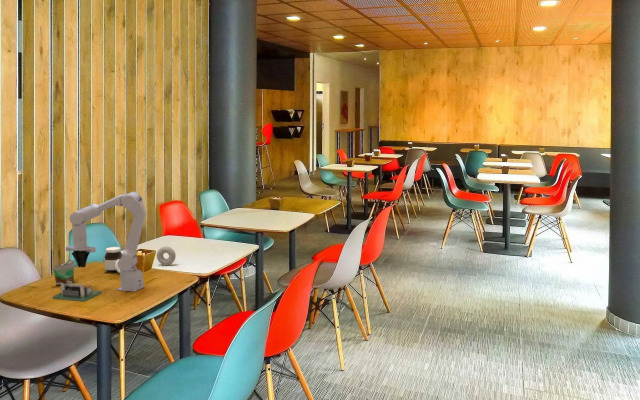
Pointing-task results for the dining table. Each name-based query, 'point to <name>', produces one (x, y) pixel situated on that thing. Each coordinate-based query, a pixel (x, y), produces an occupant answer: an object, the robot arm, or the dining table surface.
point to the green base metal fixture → (76, 293)
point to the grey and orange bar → (77, 285)
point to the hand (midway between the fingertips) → (81, 266)
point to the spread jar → (112, 259)
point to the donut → (162, 259)
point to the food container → (64, 272)
